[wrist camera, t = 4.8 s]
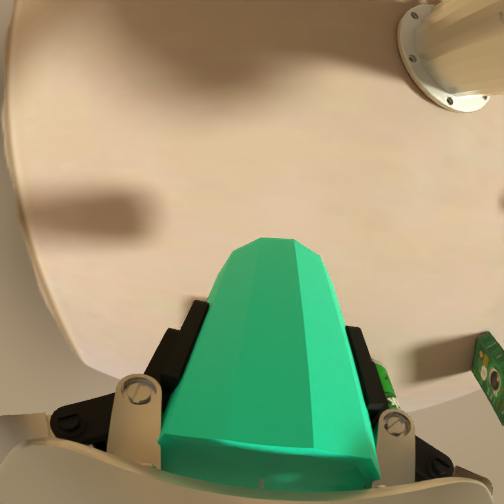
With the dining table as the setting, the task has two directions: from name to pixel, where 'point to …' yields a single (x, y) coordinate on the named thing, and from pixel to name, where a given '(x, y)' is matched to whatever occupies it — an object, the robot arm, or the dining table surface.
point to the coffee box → (490, 371)
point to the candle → (271, 382)
